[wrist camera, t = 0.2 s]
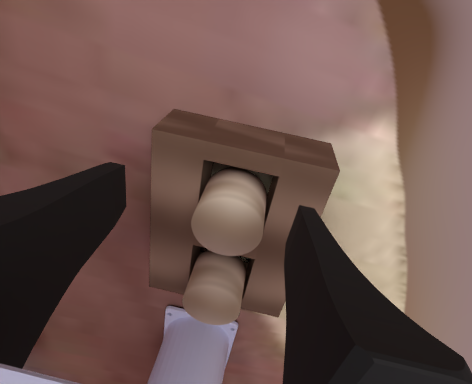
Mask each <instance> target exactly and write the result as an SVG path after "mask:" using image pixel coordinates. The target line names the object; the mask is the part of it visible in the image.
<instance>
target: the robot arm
mask: <svg viewBox="0 0 472 384" xmlns="http://www.w3.org/2000/svg"><path fill="white" fill-rule="evenodd" d="M125 207H126V184H125V165H121V164H117V163H112V162H109V163H105V164H102V165H99V166H96V167H93V168H90V169H87V170H85V171H82V172H79V173H76V174H74V175H71V176H68V177H65V178H62V179H59V180H56V181H53V182H50V183H47V184H44V185H41V186H37V187H34V188H31V189H27V190H23V191H20V192H15V193H11V194H7V195H3V196H0V384H80V383H76V382H72V381H68V380H64V379H60V378H56V377H52V376H48V375H44V374H40V373H36V372H32V371H28V370H24V369H22V368H23V366H24V364H25V362H26V360H27V358H28V356H29V354H30V352H31V351H32V349H33V347H34V345H35V343H36V341H37V340H38V338H39V336H40V334H41V332H42V331H43V329H44V327H45V325H46V323H47V322H48V320H49V318H50V317H51V315H52V313H53V312H54V310H55V308H56V307H57V305H58V303H59V301H60V300H61V298H62V296H63V295H64V293H65V292H66V290H67V289H68V287H69V285H70V284H71V282H72V281H73V279H74V278H75V276H76V275H77V273H78V272H79V271H80V269H81V268H82V266H83V265H84V264H85V263H86V261H87V260H88V259H89V258H90V256H91V255H92V254H93V253H94V251H95V250H96V249H97V248H98V246H99V245H100V244H101V243H102V241H103V240H104V239H105V238H106V236H107V235H108V234H109V233H110V231H111V230H112V229H113V227H114V226H115V225H116V223H117V221H118V220H119V218H120V216H121V215H122V213H123V211H124V209H125ZM284 278H285V298H286V343H285V359H284V374H283V384H472V373H471V371H470V369H469V367H468V365H467V363H466V361H465V360H464V358H463V357H462V356H461V355H459V354H457V353H456V352H455V351H453V350H452V349H451V348H449V347H448V346H446V345H445V344H444V343H442V342H441V341H439V340H438V339H436V338H435V337H434V336H432V335H431V334H429V333H428V332H427V331H425V330H424V329H423V328H421V327H420V326H419V325H418V324H417V323H415V322H414V321H413V320H411V319H410V318H409V317H407V315H405V314H404V313H403V312H402V311H401V310H399V309H398V308H397V307H396V306H395V305H394V304H393V303H391V302H390V301H389V300H388V299H387V298H386V297H385V296H384V295H383V294H382V293H381V292H380V291H379V290H377V289H376V288H375V287H374V286H373V285H372V284H371V283H370V281H369V280H368V279H367V278H366V277H365V276H364V275H363V274H362V273H361V272H360V271H359V270H358V268H357V267H356V266H355V265H354V264H353V263H352V261H351V260H350V259H349V258H348V256H347V255H346V254H345V253H344V251H343V250H342V249H341V247H340V246H339V245H338V243H337V242H336V240H335V239H334V237H333V236H332V235H331V233H330V232H329V230H328V229H327V227H326V225H325V224H324V222H323V221H322V219H321V218H320V216H319V215H318V213H317V211H316V210H315V208H311V207H306V206H302V205H299V207H298V210H297V213H296V216H295V218H294V221H293V224H292V227H291V230H290V232H289V235H288V238H287V241H286V246H285V257H284ZM237 328H238V323H237V322H235V321H233V322H231V323H229V324H225V325H210V324H206V323H203V322H200V321H198V320H196V319H194V318H193V317H191V316H190V315H189V314H188V313H187V312H186V311H185V309H182V308H178V307H174V306H167V307H166V310H165V324H164V339H163V342H162V345H161V348H160V350H159V353H158V356H157V358H156V361H155V364H154V366H153V369H152V372H151V375H150V377H149V380H148V383H147V384H222V382H223V376H224V370H225V367H226V364H227V361H228V358H229V355H230V351H231V348H232V345H233V341H234V338H235V335H236V332H237Z"/></svg>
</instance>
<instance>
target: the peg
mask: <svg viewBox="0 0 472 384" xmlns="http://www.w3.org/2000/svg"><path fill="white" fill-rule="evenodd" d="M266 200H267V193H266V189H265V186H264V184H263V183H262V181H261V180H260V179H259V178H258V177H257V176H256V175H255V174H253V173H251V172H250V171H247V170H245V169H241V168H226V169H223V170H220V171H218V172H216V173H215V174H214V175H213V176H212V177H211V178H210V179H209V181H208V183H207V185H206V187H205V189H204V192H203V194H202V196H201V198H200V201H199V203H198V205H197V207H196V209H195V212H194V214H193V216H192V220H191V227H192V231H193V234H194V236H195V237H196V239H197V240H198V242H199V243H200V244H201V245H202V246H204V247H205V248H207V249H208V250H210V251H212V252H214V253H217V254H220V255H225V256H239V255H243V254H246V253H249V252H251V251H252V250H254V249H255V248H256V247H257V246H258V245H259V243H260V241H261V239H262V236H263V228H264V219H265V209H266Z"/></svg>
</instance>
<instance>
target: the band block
mask: <svg viewBox="0 0 472 384" xmlns="http://www.w3.org/2000/svg"><path fill="white" fill-rule="evenodd" d="M213 162H216V163H221V164H225V165H230V166H234V167H239V168H243V169H248V170H252V171H256V172H261V173H265V174H270V175H273V178H272V181H271V185H270V188H269V192H268V195H267V200H266V209H265V219H264V228H263V236H262V239H261V241H260V243H259V245H258V246H257V247H256V248H255V249H254V250H252V251H251V252H249V253H246V254H243V255H239V256H243V257H247V258H250V260H249V263H246V262H243V263H244V265H245V267H246V276H245V282H244V289H243V295H242V302H241V308H242V309H246V310H250V311H254V312H258V313H262V314H267V315H271V316H275V317H279V315H280V312H281V310H282V308H283V305H284V303H285V300H286V298H285V278H284V257H285V246H286V241H287V238H288V235H289V232H290V230H291V227H292V224H293V221H294V218H295V216H296V213H297V210H298V207H299V205H302V206H306V207H311V208H315V210H316V211H317V213H318V215H319V216H320V217H321V215H322V213H323V210H324V208H325V205H326V203H327V201H328V198H329V196H330V194H331V191H332V189H333V186H334V184H335V182H336V179H337V177H338V175H339V172H340V170H339V166H338V163H337V160H336V157H335V154H334V151H333V148H332V145H331V143H326V142H322V141H317V140H313V139H308V138H304V137H299V136H295V135H290V134H285V133H281V132H276V131H272V130H267V129H263V128H258V127H254V126H249V125H245V124H240V123H236V122H231V121H226V120H222V119H217V118H213V117H208V116H204V115H199V114H195V113H190V112H186V111H181V110H177V109H173V110H172V111H171V112H170V113H169V114H168V115H167V116H166V117H165V118H164V119H162V120H161V121H160V122H159V123H158V124H157V125H156V126H155V127H154V128H153V129H152V150H151V211H150V271H149V287H154V288H158V289H162V290H166V291H170V292H175V293H179V294H183V295H184V293H185V290H186V287H187V284H188V282H189V279H190V276H191V273H192V271H193V268H194V265H195V262H196V260H197V258H198V256H199V255H200V254H201V253H203V252H200V247H204V246H202V245H201V244H200V243H199V242H198V240H197V239H196V237H195V236H194V234H193V231H192V227H191V220H192V216H193V214H194V212H195V209H196V207H197V205H198V203H199V201H200V198H201V196H202V194H203V192H204V189H205V187H206V185H207V183H208V181H209V179H210V178H211V172H212V165H213ZM204 248H205V247H204Z"/></svg>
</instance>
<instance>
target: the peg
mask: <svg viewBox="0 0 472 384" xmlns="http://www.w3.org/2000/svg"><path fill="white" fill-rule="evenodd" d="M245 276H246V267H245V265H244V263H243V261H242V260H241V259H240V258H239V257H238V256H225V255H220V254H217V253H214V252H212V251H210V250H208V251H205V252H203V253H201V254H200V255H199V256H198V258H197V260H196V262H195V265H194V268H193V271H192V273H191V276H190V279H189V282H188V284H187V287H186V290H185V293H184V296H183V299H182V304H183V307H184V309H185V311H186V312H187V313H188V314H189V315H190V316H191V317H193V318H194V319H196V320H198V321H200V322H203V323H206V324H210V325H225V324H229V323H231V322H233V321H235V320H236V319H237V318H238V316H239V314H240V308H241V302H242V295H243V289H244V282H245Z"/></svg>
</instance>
